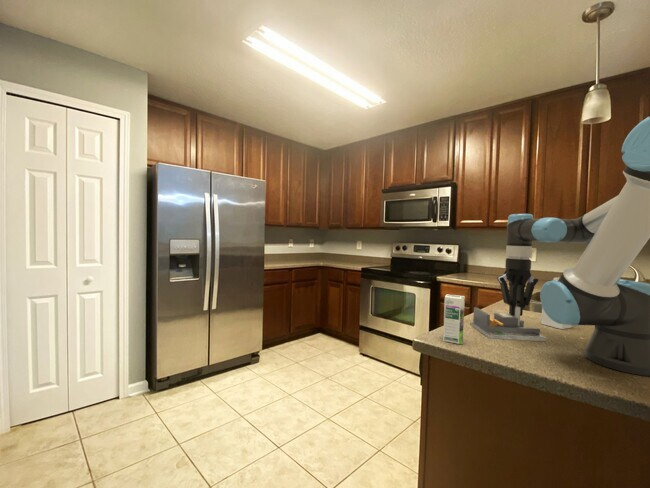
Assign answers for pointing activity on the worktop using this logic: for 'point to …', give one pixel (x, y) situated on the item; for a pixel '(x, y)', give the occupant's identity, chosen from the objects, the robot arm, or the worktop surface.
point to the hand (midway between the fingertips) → (515, 324)
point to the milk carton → (549, 321)
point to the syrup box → (453, 319)
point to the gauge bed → (504, 329)
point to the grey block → (506, 319)
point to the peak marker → (494, 322)
